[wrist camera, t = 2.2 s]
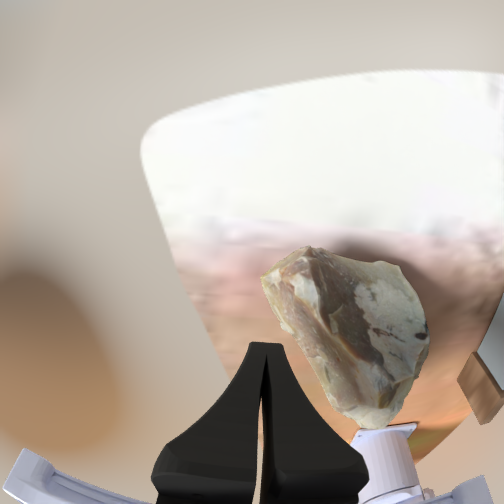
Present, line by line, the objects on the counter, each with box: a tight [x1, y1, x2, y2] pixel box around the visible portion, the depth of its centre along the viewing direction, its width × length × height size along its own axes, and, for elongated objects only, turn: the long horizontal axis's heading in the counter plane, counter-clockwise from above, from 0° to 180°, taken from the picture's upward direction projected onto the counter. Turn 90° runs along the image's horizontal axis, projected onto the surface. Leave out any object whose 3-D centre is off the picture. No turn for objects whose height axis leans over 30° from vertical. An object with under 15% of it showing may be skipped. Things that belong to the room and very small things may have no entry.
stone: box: [260, 245, 430, 430], centre depth 18 cm, size 11×14×10 cm
